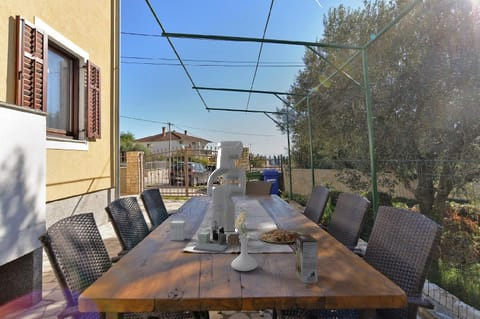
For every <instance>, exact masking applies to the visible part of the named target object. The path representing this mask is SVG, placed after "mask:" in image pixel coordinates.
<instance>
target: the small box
mask: <svg viewBox="0 0 480 319" xmlns="http://www.w3.org/2000/svg"><path fill="white" fill-rule="evenodd" d="M169 223H170V224H169V232H170V233H169V234H170V236H169V238H170V241H184V240H185V239H187V235H186V234H187V231H186V230H187V226H186V220H172V221H171V222H169Z"/></svg>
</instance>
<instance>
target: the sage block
mask: <svg viewBox="0 0 480 319" xmlns="http://www.w3.org/2000/svg"><path fill="white" fill-rule="evenodd" d="M210 241H211V231H203V230H202V231H200V232H199V233H198V234H197V243H199V244H200V243H205V244H208V243H209V242H210Z"/></svg>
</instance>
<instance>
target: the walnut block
mask: <svg viewBox="0 0 480 319" xmlns="http://www.w3.org/2000/svg"><path fill="white" fill-rule="evenodd" d="M238 236H240V234H235V233H230V234H228V235H227V245H228V246H233V245H237V244H238V245H239V244H241V240H240V238H239V237H238ZM238 245H237V246H238Z"/></svg>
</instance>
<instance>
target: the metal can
mask: <svg viewBox="0 0 480 319" xmlns="http://www.w3.org/2000/svg"><path fill="white" fill-rule="evenodd" d="M242 228H243V227H242ZM243 229H244V230H245V227H244V228H243ZM234 232H235V233H234V234H240V235H245V234H244V233H243V232H241V227H240V228H238V229H235V231H234Z"/></svg>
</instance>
